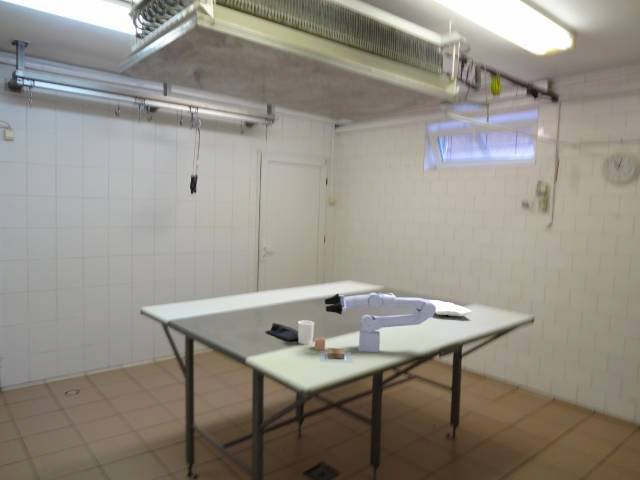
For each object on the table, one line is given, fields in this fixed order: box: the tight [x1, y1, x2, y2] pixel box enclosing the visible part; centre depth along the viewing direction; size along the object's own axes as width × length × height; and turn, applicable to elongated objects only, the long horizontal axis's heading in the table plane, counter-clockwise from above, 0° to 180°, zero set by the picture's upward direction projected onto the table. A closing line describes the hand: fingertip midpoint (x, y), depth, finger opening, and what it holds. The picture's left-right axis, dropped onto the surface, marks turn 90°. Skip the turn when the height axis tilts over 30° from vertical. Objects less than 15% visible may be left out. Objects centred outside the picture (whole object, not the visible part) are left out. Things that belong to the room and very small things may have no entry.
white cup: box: [297, 319, 315, 345], centre depth 223 cm, size 8×8×10 cm
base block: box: [327, 347, 345, 359], centre depth 204 cm, size 7×7×2 cm
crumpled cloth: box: [428, 299, 473, 317], centre depth 294 cm, size 24×35×9 cm
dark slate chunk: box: [265, 322, 298, 342], centre depth 235 cm, size 15×22×5 cm
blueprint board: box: [319, 350, 354, 364], centre depth 204 cm, size 14×14×1 cm
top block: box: [314, 336, 326, 351], centre depth 215 cm, size 4×4×5 cm
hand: (325, 305), depth 215 cm, fingers open, 7 cm apart
